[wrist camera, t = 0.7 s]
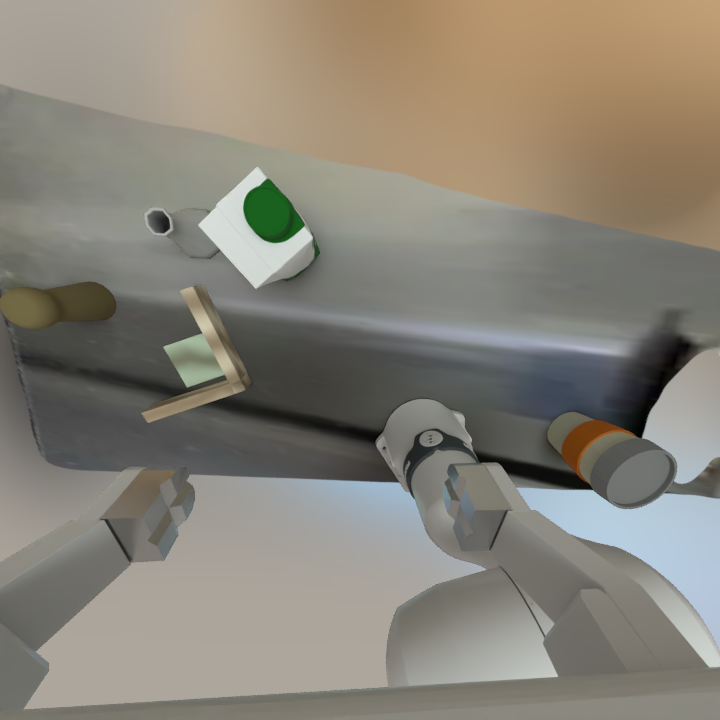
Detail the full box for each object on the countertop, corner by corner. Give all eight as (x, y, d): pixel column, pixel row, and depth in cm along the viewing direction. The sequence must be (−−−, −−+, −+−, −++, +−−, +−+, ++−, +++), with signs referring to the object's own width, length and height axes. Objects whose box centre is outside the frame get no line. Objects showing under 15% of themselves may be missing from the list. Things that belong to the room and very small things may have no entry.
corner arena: (252, 382, 49) (245, 390, 45) (160, 412, 49) (147, 422, 46) (203, 285, 43) (192, 286, 40) (100, 321, 43) (81, 324, 40)
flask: (211, 201, 40) (172, 178, 30) (232, 252, 42) (201, 245, 32) (165, 215, 40) (111, 196, 30) (188, 265, 42) (145, 262, 32)
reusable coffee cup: (573, 460, 61) (645, 517, 46) (528, 445, 58) (590, 501, 44) (605, 414, 57) (694, 460, 43) (560, 396, 55) (638, 439, 41)
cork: (80, 320, 43) (-2, 334, 33) (68, 281, 41) (-23, 283, 31) (120, 320, 44) (52, 334, 33) (110, 281, 42) (34, 284, 31)
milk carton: (328, 253, 43) (320, 236, 24) (286, 289, 44) (248, 300, 25) (290, 205, 41) (249, 143, 22) (247, 244, 42) (172, 219, 23)
